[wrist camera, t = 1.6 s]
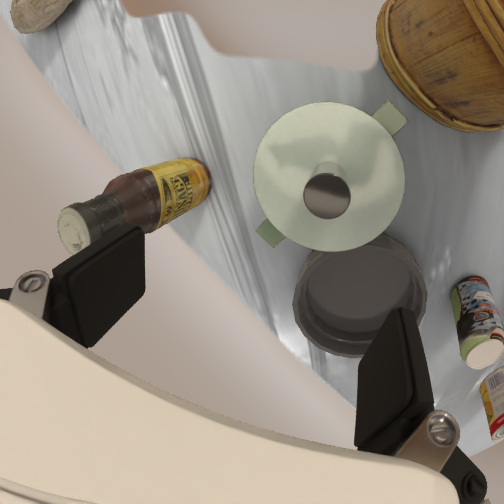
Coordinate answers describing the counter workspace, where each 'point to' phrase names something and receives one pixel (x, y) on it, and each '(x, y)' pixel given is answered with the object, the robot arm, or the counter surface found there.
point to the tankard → (447, 58)
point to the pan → (356, 294)
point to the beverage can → (477, 323)
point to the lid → (329, 176)
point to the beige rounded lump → (36, 14)
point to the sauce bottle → (136, 202)
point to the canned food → (494, 402)
